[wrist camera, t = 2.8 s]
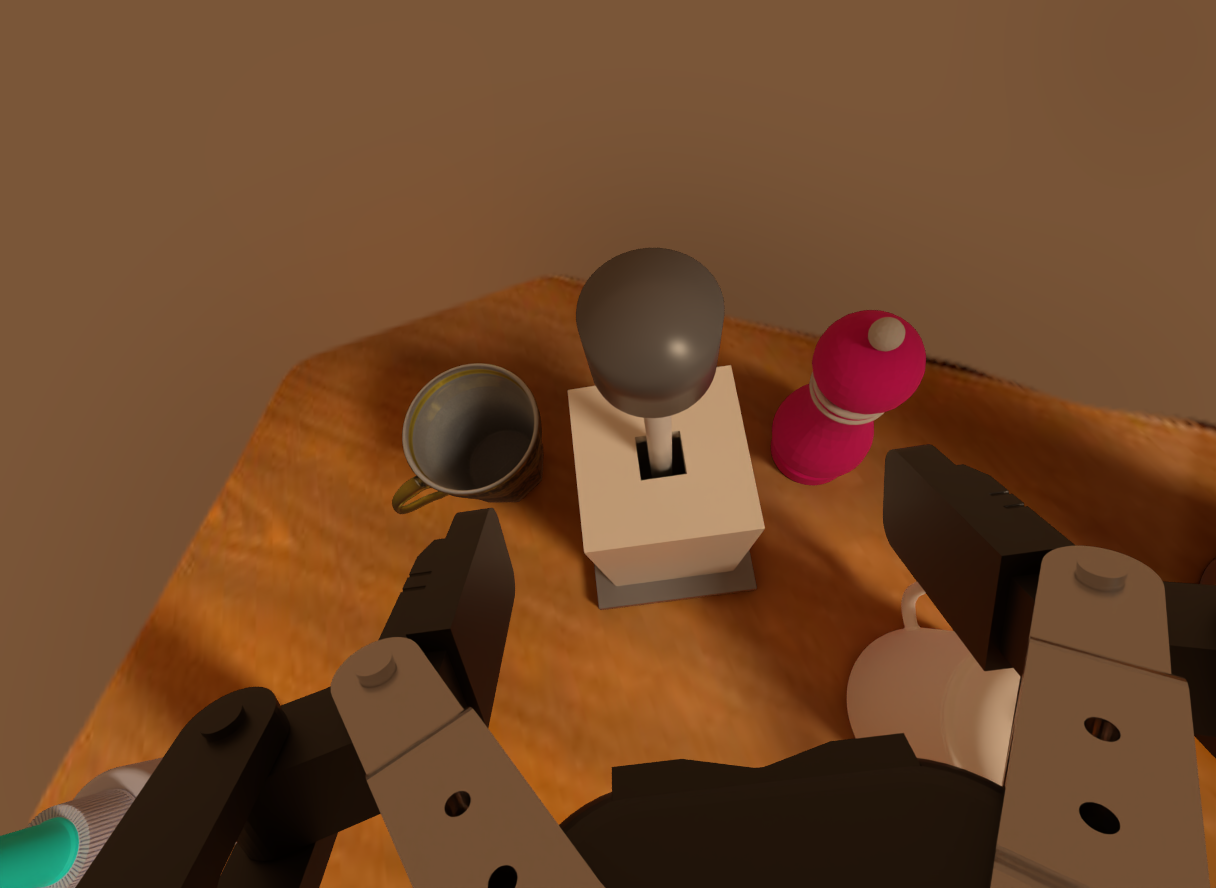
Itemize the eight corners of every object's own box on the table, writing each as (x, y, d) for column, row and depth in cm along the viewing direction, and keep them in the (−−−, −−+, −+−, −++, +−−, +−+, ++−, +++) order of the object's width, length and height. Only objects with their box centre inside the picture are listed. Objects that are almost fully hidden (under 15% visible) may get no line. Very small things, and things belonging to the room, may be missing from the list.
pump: (692, 448, 38) (710, 237, 18) (704, 516, 36) (737, 364, 17) (623, 458, 38) (569, 260, 18) (632, 526, 36) (583, 387, 17)
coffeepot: (937, 517, 46) (1099, 435, 29) (1071, 897, 38) (1419, 1117, 20) (797, 541, 47) (872, 476, 29) (899, 922, 38) (1092, 1156, 21)
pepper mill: (769, 403, 51) (825, 258, 32) (857, 415, 50) (969, 272, 31) (759, 483, 49) (812, 380, 30) (851, 498, 47) (967, 400, 29)
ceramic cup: (512, 391, 54) (477, 337, 44) (587, 465, 51) (567, 423, 41) (402, 491, 52) (342, 457, 42) (474, 574, 49) (426, 556, 39)
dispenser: (723, 434, 50) (749, 320, 33) (754, 590, 46) (802, 554, 28) (584, 454, 51) (537, 354, 34) (601, 609, 47) (557, 587, 29)
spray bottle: (334, 730, 46) (55, 798, 25) (321, 820, 44) (5, 974, 23) (262, 728, 46) (-70, 792, 26) (245, 816, 45) (-128, 963, 24)
